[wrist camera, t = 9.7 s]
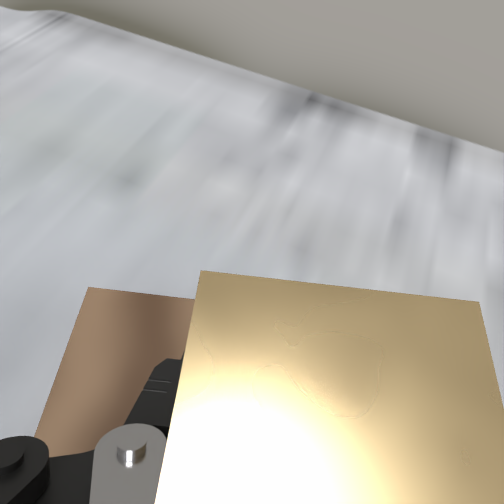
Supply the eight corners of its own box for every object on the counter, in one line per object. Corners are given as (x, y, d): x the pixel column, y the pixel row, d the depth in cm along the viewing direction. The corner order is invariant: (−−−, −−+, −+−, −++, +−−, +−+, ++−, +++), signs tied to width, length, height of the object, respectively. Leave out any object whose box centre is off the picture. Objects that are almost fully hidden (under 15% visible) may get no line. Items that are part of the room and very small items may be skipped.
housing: (195, 540, 13) (123, 663, 4) (217, 387, 15) (200, 270, 7) (342, 558, 13) (575, 720, 4) (339, 401, 15) (479, 301, 7)
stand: (0, 588, 17) (-26, 601, 15) (98, 300, 24) (88, 287, 22) (447, 643, 17) (472, 662, 15) (411, 337, 24) (425, 326, 22)
